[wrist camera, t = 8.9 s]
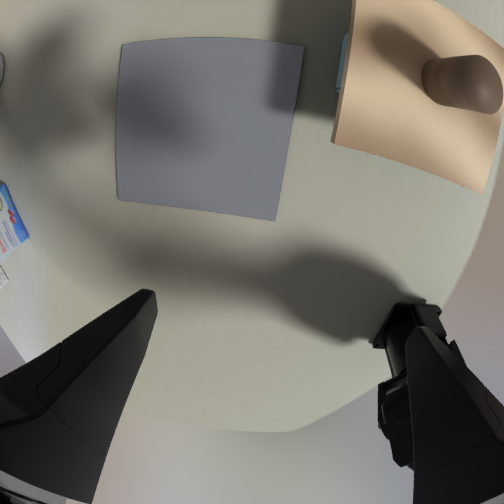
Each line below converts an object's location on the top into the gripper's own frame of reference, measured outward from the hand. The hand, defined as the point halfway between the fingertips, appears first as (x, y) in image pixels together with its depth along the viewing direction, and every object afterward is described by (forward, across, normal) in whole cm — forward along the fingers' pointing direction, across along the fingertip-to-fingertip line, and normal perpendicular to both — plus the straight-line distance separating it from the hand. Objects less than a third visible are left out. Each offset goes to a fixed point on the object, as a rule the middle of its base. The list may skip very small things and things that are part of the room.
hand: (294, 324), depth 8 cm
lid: (+9, -7, -10) cm, 15 cm away
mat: (+13, +7, -4) cm, 15 cm away
